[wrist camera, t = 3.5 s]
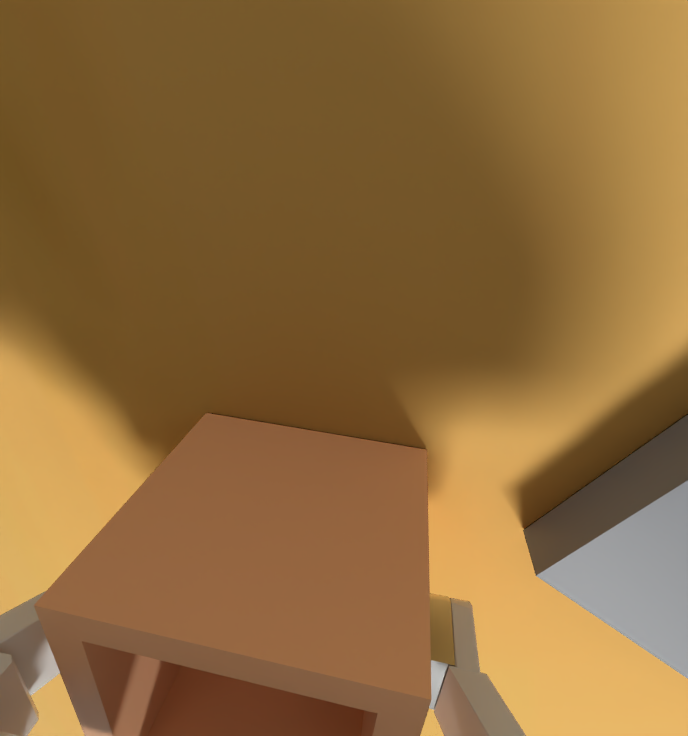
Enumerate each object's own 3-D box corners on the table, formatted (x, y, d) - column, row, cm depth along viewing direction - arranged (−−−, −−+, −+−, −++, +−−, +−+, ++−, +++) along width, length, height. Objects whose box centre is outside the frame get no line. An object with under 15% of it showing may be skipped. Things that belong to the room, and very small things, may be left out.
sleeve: (218, 563, 15) (103, 783, 9) (206, 412, 12) (33, 605, 7) (395, 600, 14) (379, 862, 9) (426, 449, 11) (431, 700, 6)
